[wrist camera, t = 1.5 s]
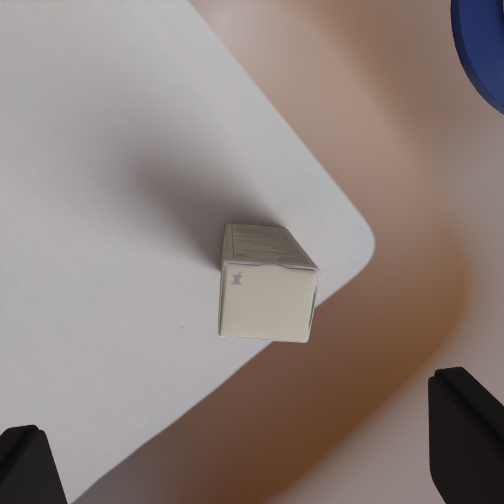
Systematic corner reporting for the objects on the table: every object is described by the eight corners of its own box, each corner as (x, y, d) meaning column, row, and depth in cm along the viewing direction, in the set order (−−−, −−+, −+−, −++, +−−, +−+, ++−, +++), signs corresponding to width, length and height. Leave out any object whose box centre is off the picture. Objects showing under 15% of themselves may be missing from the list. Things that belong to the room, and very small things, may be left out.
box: (220, 273, 31) (210, 337, 20) (225, 221, 30) (218, 258, 19) (285, 280, 31) (309, 346, 20) (292, 227, 30) (322, 268, 19)
